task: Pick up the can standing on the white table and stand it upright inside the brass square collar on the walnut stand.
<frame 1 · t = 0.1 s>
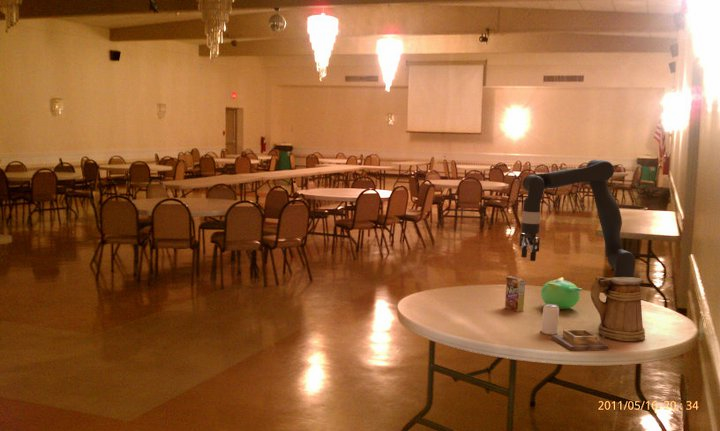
hand: (528, 259, 302), 29 cm above the table, tool pointing down, fingers open, 8 cm apart
can: (549, 333, 294), on the table
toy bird: (559, 308, 338), on the table
candy box: (513, 309, 332), on the table
socket stand: (579, 343, 279), on the table
tankard: (615, 336, 293), on the table
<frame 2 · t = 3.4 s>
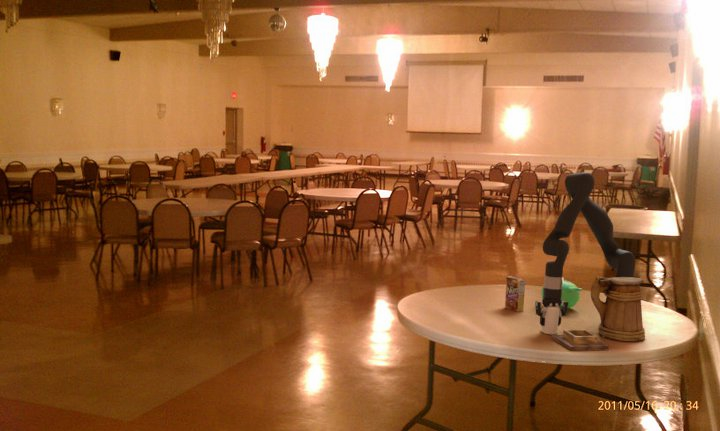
hand: (550, 325, 294), 3 cm above the table, tool pointing down, fingers closed on can, 6 cm apart
can: (549, 333, 294), on the table, touching gripper
everything else where it was.
when the fingers open (6 cm above the table, at t = 9.7 s): can drops 1 cm, resting on socket stand.
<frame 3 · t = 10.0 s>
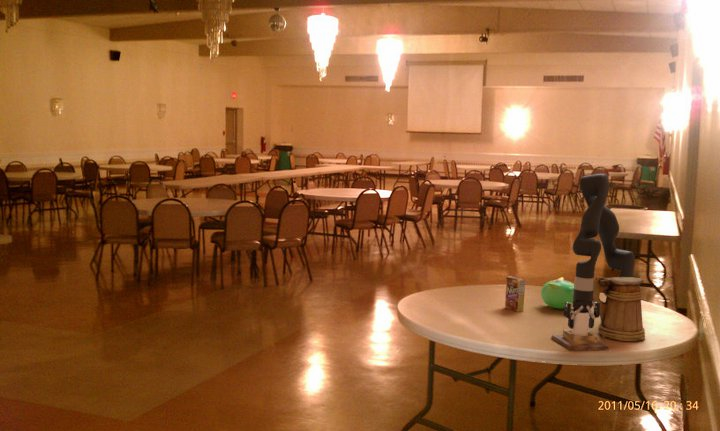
hand: (580, 327, 279), 7 cm above the table, tool pointing down, fingers open, 8 cm apart
can: (578, 340, 279), point 1 cm above the table, touching socket stand
everything else where it was.
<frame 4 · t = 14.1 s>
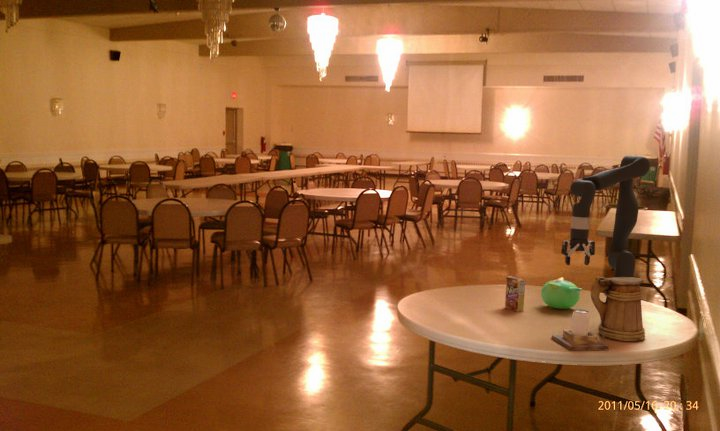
hand: (577, 264, 298), 28 cm above the table, tool pointing down, fingers open, 8 cm apart
nothing on the table moved.
at the end: can 0.3 cm off-centre on the socket stand, point 1.3 cm above the socket stand's base; can tilted 0°; the gripper is holding nothing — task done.
